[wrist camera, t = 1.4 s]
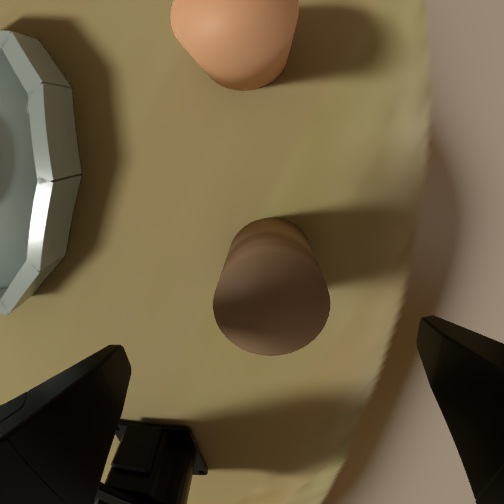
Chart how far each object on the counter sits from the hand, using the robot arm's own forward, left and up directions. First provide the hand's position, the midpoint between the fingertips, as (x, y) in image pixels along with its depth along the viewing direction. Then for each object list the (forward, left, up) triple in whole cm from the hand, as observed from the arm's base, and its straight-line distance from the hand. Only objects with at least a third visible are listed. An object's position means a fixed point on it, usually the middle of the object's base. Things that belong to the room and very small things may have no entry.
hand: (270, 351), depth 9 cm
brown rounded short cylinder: (0, 0, -7) cm, 7 cm away
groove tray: (+8, +18, -7) cm, 21 cm away
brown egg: (+10, 0, -7) cm, 12 cm away
